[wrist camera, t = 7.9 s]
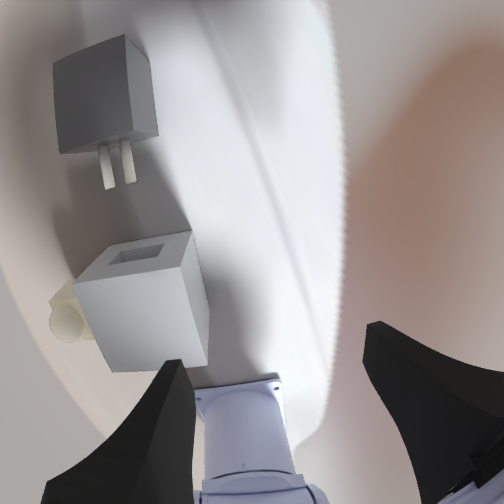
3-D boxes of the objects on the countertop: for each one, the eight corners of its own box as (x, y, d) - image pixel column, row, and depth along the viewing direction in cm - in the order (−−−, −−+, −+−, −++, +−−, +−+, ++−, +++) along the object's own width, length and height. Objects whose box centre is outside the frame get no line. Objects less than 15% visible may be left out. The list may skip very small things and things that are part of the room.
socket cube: (209, 309, 20) (207, 365, 15) (134, 319, 20) (112, 372, 14) (192, 230, 18) (179, 266, 13) (109, 245, 18) (71, 283, 12)
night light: (122, 313, 18) (102, 353, 14) (80, 317, 18) (55, 354, 14) (108, 274, 17) (81, 309, 13) (65, 281, 17) (34, 313, 13)
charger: (164, 173, 16) (142, 182, 12) (107, 186, 16) (69, 202, 11) (148, 42, 13) (124, 9, 8) (92, 60, 13) (54, 38, 8)
